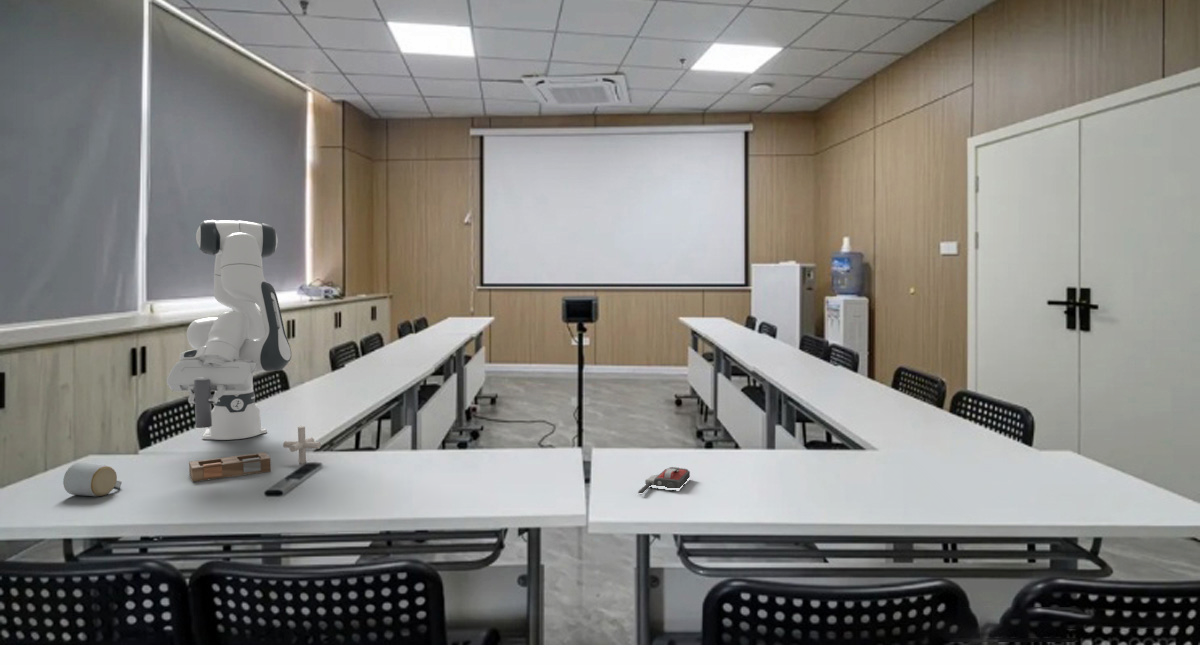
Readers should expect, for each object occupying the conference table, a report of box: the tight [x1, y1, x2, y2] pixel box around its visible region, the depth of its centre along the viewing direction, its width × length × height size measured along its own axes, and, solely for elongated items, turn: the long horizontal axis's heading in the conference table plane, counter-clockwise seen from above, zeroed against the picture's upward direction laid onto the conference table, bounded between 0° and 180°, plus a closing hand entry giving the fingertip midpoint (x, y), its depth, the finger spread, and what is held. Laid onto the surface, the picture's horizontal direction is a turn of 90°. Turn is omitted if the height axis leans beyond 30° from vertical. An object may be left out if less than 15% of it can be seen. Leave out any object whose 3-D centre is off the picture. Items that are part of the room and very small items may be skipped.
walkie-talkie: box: [637, 466, 691, 494], centre depth 173 cm, size 9×4×20 cm
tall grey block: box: [194, 377, 212, 429], centre depth 180 cm, size 4×4×13 cm
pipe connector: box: [282, 426, 322, 464], centre depth 195 cm, size 10×10×10 cm
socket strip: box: [188, 451, 272, 482], centre depth 184 cm, size 8×18×4 cm, turn 125°
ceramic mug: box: [62, 461, 123, 497], centre depth 167 cm, size 11×8×8 cm
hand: (202, 402), depth 179 cm, fingers closed on tall grey block, 4 cm apart
